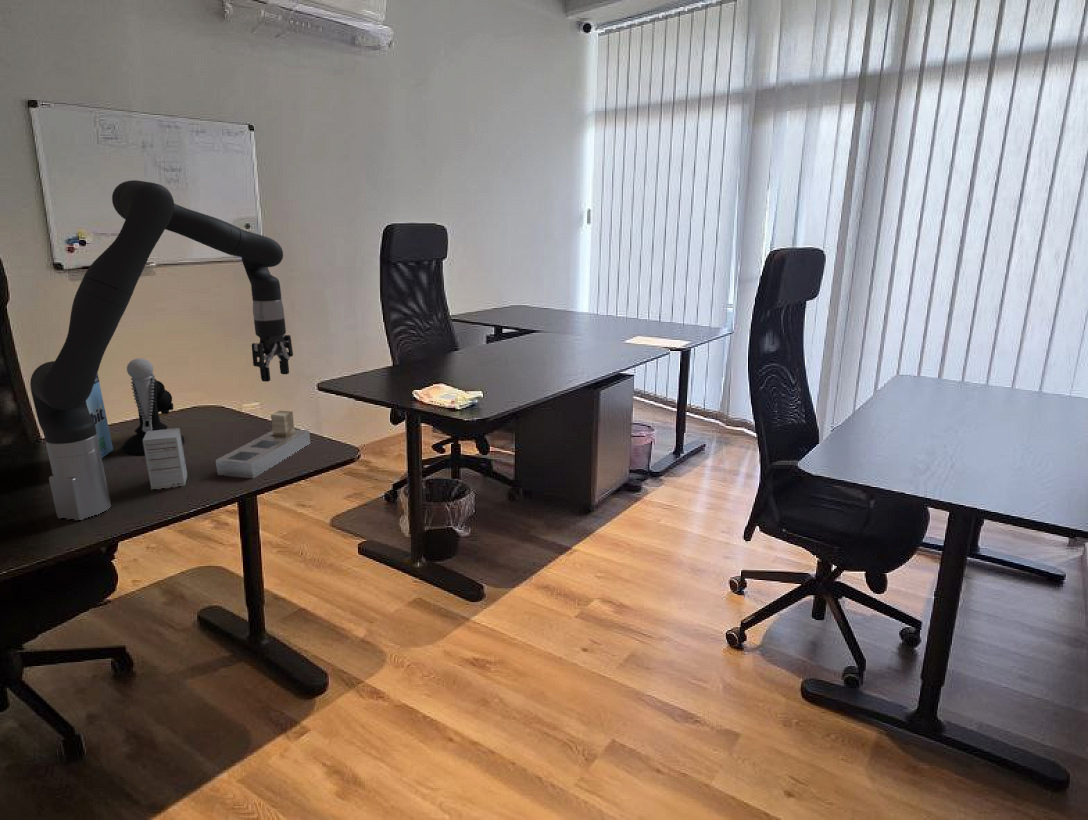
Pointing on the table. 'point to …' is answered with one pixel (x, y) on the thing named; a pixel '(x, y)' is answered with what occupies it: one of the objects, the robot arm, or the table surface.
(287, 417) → the maple block
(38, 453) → the table surface
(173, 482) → the supplement box
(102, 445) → the gum box
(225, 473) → the grey slotted tray
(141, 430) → the sculpture
